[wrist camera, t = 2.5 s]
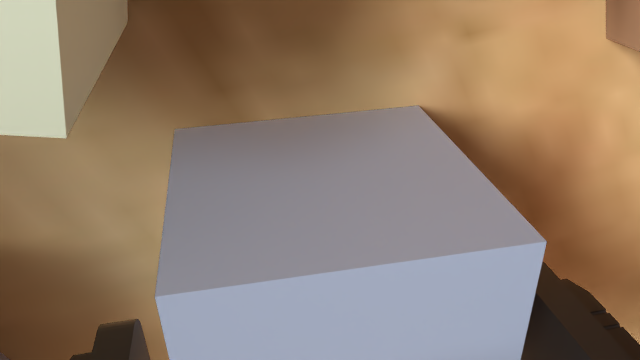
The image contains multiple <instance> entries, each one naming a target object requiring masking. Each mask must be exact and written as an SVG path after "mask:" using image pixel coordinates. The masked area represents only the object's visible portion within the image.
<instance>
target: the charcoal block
mask: <svg viewBox="0 0 640 360" xmlns="http://www.w3.org/2000/svg"><path fill="white" fill-rule="evenodd" d="M0 360H10V359H9V358H7V357H6V356H5V355H4V354H2V353H1V352H0Z"/></svg>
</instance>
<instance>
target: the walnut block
mask: <svg viewBox="0 0 640 360" xmlns="http://www.w3.org/2000/svg"><path fill="white" fill-rule="evenodd" d="M606 38H607V39H609V40H612V41H614V42H617V43H619V44H622V45H624V46H627V47H629V48H632V49H634V50H637V51H639V52H640V0H606Z"/></svg>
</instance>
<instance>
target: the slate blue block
mask: <svg viewBox="0 0 640 360" xmlns="http://www.w3.org/2000/svg"><path fill="white" fill-rule="evenodd" d="M546 243H547V241H546V240H545V239H544V238H543V237H542V236H541V235H540V234H539V233H538V232H537V231H536V229H535V228H534V227H533V226H532V225H531V224H530V223H529V222H528V221H527V220H526V219H525V218H524V217H523V216H522V215H521V214H520V213H519V211H518V210H517V209H516V208H515V207H514V206H513V205H512V204H511V203H510V202H509V201H508V200H507V199H506V198H505V197H504V196H503V195H502V193H501V192H500V191H499V190H498V189H497V188H496V187H495V186H494V185H493V184H492V183H491V182H490V181H489V180H488V179H487V178H486V177H485V175H484V174H483V173H482V172H481V171H480V170H479V169H478V168H477V167H476V166H475V165H474V164H473V163H472V162H471V161H470V160H469V159H468V157H467V156H466V155H465V154H464V153H463V152H462V151H461V150H460V149H459V148H458V147H457V146H456V145H455V144H454V143H453V142H452V140H451V139H450V138H449V137H448V136H447V135H446V134H445V133H444V132H443V131H442V130H441V129H440V128H439V127H438V126H437V125H436V124H435V122H434V121H433V120H432V119H431V118H430V117H429V116H428V115H427V114H426V113H425V112H424V111H423V110H422V109H421V108H420V107H419V106H408V107H398V108H388V109H377V110H367V111H357V112H346V113H336V114H326V115H315V116H305V117H295V118H284V119H274V120H264V121H254V122H243V123H233V124H223V125H212V126H202V127H192V128H181V129H175V131H174V140H173V148H172V156H171V165H170V173H169V182H168V190H167V199H166V207H165V215H164V224H163V232H162V241H161V249H160V258H159V266H158V274H157V283H156V291H155V300H156V304H157V308H158V313H159V317H160V321H161V326H162V330H163V334H164V339H165V343H166V347H167V351H168V356H169V360H521V355H522V351H523V346H524V342H525V337H526V333H527V328H528V324H529V320H530V315H531V311H532V306H533V302H534V297H535V293H536V288H537V284H538V279H539V275H540V270H541V266H542V261H543V257H544V252H545V248H546Z"/></svg>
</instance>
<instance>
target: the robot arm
mask: <svg viewBox="0 0 640 360" xmlns="http://www.w3.org/2000/svg"><path fill="white" fill-rule="evenodd" d="M70 360H150V357H149V353H148V349H147V346H146V342H145V338H144V334H143V330H142V326H141V323H140V321H139V320H138V319H134V320H127V321H121V322H114V323H107V324H101V325H100V326H99V327H98V330H97V334H96V338H95V342H94V346H93V350H92V352H91V353H84V354H78V355H73V356H72V358H71V359H70ZM521 360H640V345H639V344H638V343H637V341H636V340H635V339H634V338H633V337H632V336H631V335H630V334H629V333H628V332H627V331H626V330H625V329H624V328H623V327H620V326H619V323H618V322H617V321H616V320H615V319H614V317H613V316H612V315H611V314H610V313H606V309H605V308H604V307H603V306H602V305H601V304H600V303H599V302H598V301H597V300H596V299H595V298H594V297H593V296H592V295H591V293H590V292H588V291H586V290H585V289H583V288H581V287H580V286H578V285H576V284H575V283H573V282H571V281H570V280H568V279H563V280H560V279H559V278H558V277H557V276H556V275H555V274H554V272H553V271H552V270H551V269H550V268H549V267H548V266H547V265H546V264H545V263H544V262H543V261H542V266H541V270H540V275H539V279H538V284H537V288H536V293H535V297H534V302H533V306H532V311H531V315H530V320H529V324H528V328H527V333H526V337H525V342H524V346H523V351H522V355H521Z"/></svg>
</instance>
